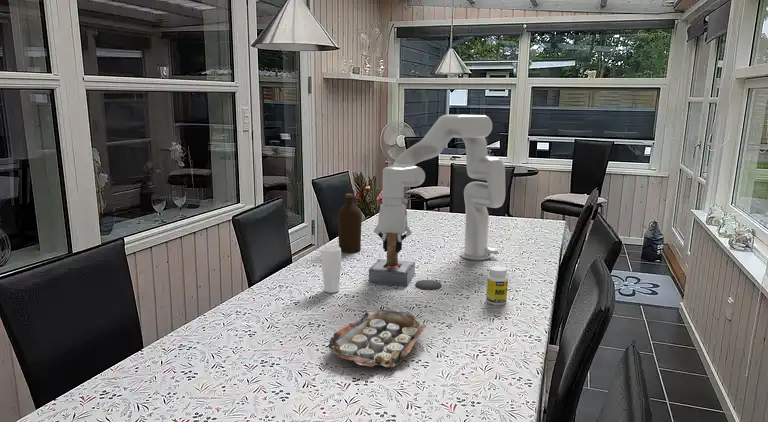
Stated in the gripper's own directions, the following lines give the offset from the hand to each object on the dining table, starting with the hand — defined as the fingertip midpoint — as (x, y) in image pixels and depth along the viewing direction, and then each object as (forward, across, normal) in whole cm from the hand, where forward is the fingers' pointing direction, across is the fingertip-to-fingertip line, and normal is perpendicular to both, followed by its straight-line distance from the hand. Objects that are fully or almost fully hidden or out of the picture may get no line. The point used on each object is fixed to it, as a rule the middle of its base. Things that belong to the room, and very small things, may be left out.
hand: (392, 250), depth 191 cm
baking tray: (+11, -10, +56) cm, 57 cm away
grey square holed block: (+11, 0, 0) cm, 11 cm away
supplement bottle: (+11, -38, +14) cm, 42 cm away
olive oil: (+11, +27, -33) cm, 44 cm away
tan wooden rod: (+5, 0, 0) cm, 5 cm away
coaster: (+11, -14, +4) cm, 18 cm away
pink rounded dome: (+9, 0, 0) cm, 9 cm away
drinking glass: (+11, +17, +18) cm, 27 cm away
